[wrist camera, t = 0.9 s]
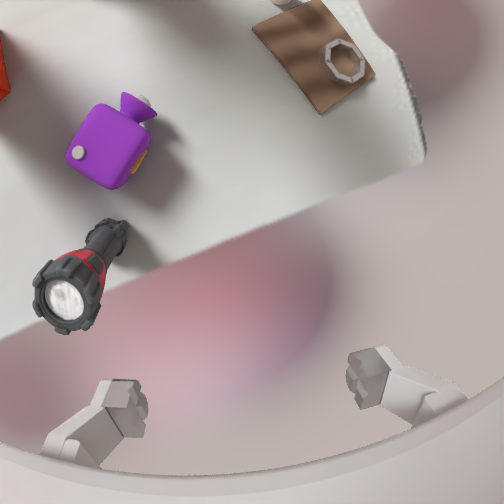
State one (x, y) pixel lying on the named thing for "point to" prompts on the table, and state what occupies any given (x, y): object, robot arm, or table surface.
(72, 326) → the flashlight
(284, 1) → the white lens
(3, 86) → the file binder
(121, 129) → the toy camera
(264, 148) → the table surface
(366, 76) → the walnut mount plate
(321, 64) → the ring
